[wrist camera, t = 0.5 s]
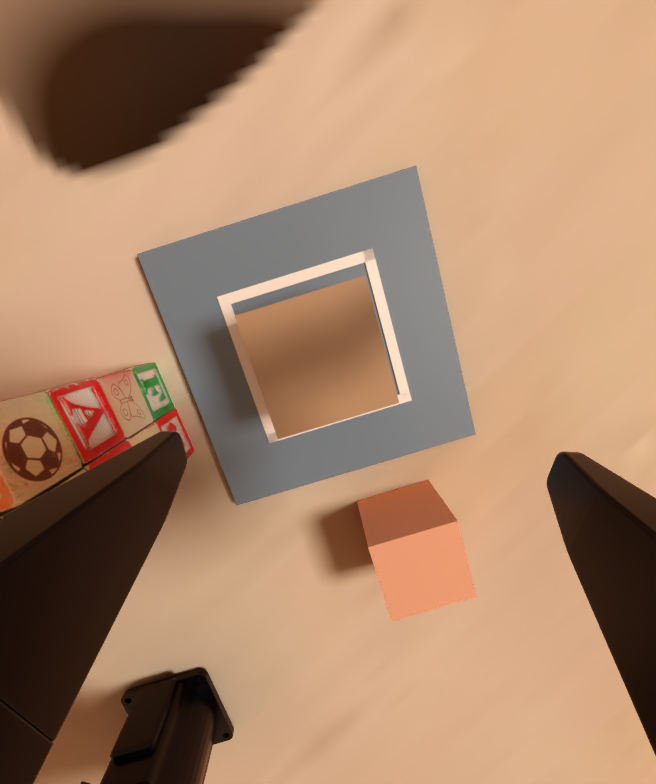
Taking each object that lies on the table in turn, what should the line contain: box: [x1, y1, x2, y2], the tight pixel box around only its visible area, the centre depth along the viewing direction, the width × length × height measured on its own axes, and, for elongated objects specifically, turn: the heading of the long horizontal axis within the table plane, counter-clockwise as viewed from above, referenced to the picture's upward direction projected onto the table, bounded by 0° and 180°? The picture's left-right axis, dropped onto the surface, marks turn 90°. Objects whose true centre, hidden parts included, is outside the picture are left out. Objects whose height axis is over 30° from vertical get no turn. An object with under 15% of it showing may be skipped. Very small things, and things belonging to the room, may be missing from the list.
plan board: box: [137, 166, 475, 505], centre depth 21 cm, size 16×16×1 cm
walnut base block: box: [235, 275, 399, 439], centre depth 19 cm, size 6×6×5 cm
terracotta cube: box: [357, 480, 476, 621], centre depth 22 cm, size 5×5×5 cm
